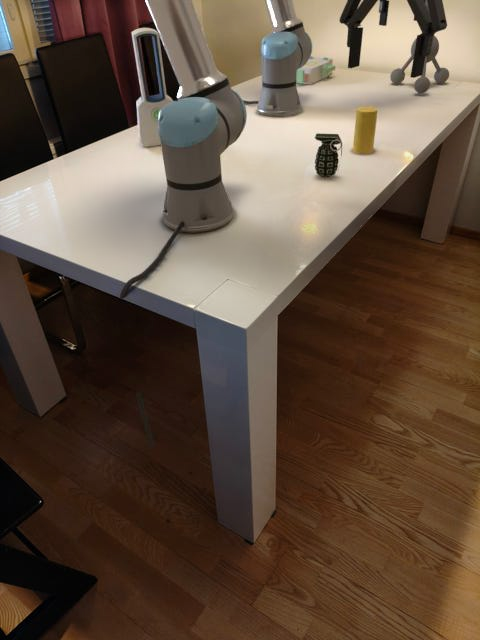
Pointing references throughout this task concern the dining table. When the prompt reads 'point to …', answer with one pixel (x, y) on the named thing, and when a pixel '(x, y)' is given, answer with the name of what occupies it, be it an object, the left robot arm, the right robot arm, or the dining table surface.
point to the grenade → (327, 155)
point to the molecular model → (423, 82)
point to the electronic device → (146, 104)
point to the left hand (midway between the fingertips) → (383, 71)
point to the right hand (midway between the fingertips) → (400, 23)
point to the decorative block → (314, 70)
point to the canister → (365, 130)
